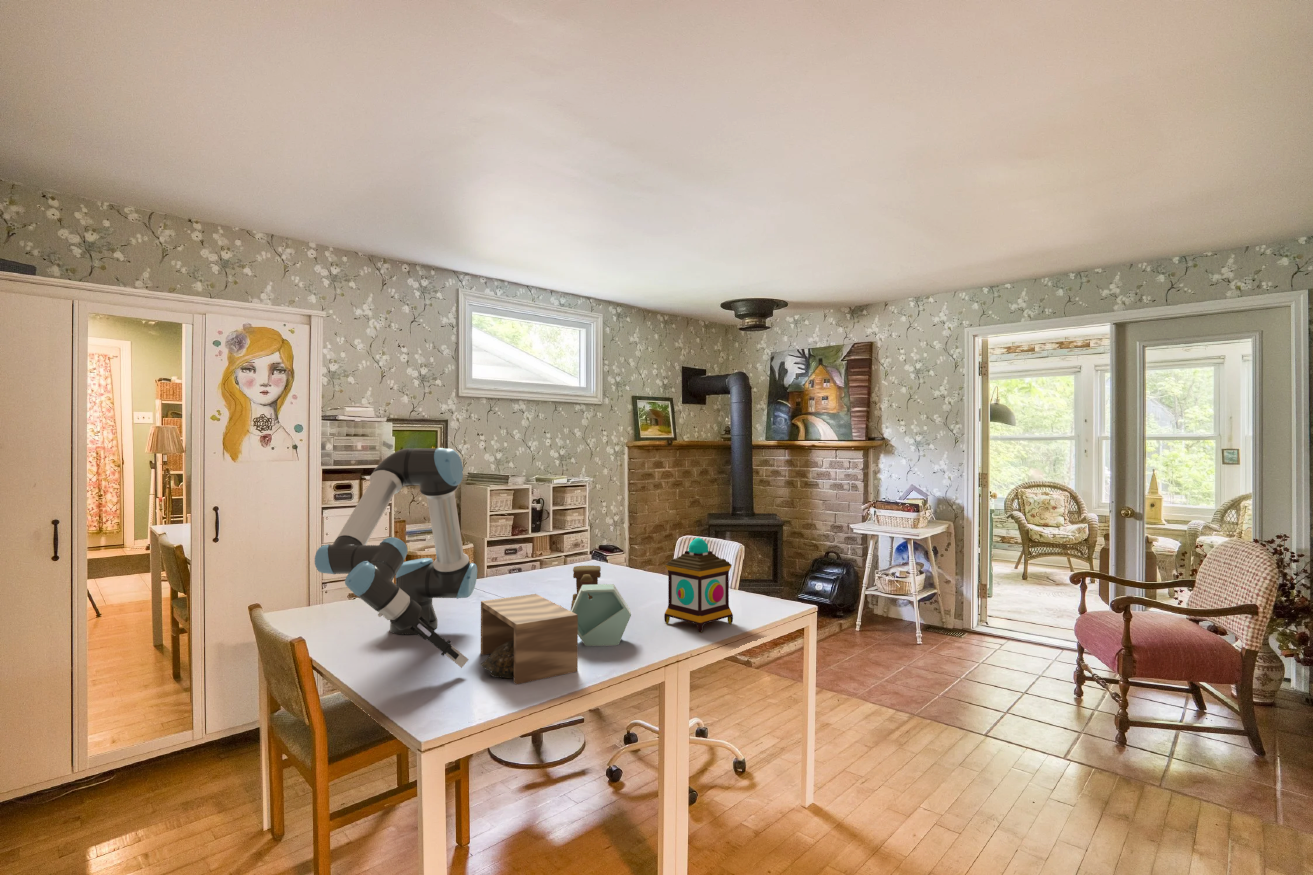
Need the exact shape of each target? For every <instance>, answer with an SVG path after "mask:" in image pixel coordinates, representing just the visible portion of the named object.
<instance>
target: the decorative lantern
mask: <svg viewBox="0 0 1313 875" xmlns="http://www.w3.org/2000/svg"><path fill="white" fill-rule="evenodd" d="M665 568H666V571H667V572H668V578H667V579H668V589H667V591H668V593H667V594H668V595H667V596H668V597H667V598H668V602H667V603H668V604H667V608H666V610H665V612H664V616H663V620H664V623H665V624H669V623H670V619H671V618H673V619H677V620H679V621H680V620H681V621H684V622H688V623H691V624H695V625H696V627H697V631H698V633H699V634H701V633H702V632H703V628H704V625H706V624H708V623H712V622H716V621H719V620H723V619H726V618H727V623H728V624H729V625H731V624H733V620H734V614H733V612H732V610H731V608H730V604H729V603H730V601H729V599H730V598H729V596H730V591H729V589H730V584H729V582H730V578H729V577H730V576H729V574H730V571H731V568H732V564H731V563H730V562H729V561H727V560H726V559H725V558H720V557H719V556H716V554H715V553H713V551H712V550H711V551H710V550H709V546H708V543H707V542H706V541H705V540H704V539H703V538H701V537H696V538H693V540H691V541H690V543H689V544H688V550H686V551H684V553H682V554H681V555H679V556H677V557H675V558H671V560H669V561H667V563H665Z"/></svg>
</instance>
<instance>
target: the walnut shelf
mask: <svg viewBox="0 0 1313 875" xmlns="http://www.w3.org/2000/svg"><path fill="white" fill-rule="evenodd" d="M578 637H579V636H578V615H577V614H575V613H573V612H571V610H570V609H568V608H566V607H562V606H561V605H559V604H558V603H556V602H553V601H551V600H549V599H548V598H546V597H543V596H541V595H539V594H537V593H532V594H525V595H517V596H508V597H502V598H501V597H500V598H494V599H486V600H480V654H481V655H482V656H485V655H490V654H491V653H492V652H493V651H494V650H495V649H496V648H497V647H499V646H500V645H502V644H504V643H507V642H509V641H511V640H514V678H513V683H514V684H515V685H520V684H521V685H522V684H524V683H525V684H526V683H529V682H530V683H531V682H535V681H540V680H545V679H549V678H553V677H558V676H564V675H568V674H571V673H576V672H579V671H578V669H579V668H578V662H579V660H578V659H579V658H578V654H579V653H578V651H579V650H578V648H579V647H578V646H579V645H578V644H579V643H578Z"/></svg>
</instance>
